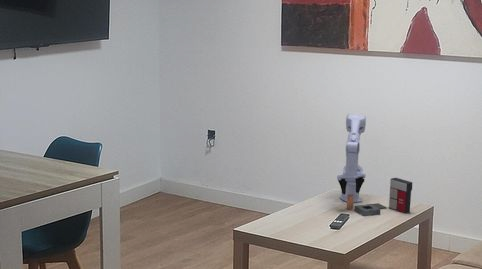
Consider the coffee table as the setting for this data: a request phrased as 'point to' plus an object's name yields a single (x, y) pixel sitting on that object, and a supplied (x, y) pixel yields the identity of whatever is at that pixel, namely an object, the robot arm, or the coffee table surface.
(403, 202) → the red and grey box
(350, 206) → the cylinder
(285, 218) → the coffee table surface
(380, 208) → the mat
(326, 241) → the coffee table surface
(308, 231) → the coffee table surface
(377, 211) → the chuck plate
